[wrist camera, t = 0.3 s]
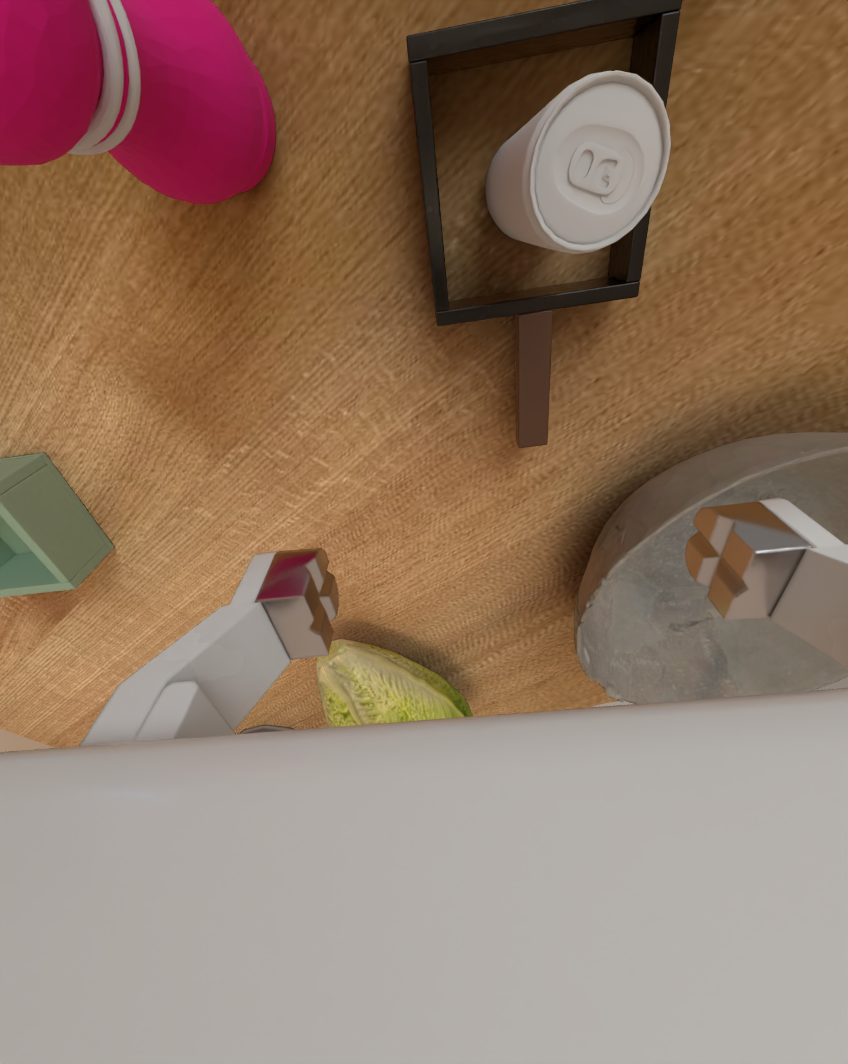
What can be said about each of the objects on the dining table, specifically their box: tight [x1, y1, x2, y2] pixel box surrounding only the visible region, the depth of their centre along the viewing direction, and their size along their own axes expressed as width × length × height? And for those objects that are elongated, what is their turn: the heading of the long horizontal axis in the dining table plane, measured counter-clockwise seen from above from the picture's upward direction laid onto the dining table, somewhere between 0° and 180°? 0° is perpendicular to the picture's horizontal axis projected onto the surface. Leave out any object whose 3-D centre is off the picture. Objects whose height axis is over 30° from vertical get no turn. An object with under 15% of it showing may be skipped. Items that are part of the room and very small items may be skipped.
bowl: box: [574, 432, 848, 704], centre depth 34 cm, size 28×28×10 cm
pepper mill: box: [0, 0, 276, 204], centre depth 14 cm, size 7×7×20 cm
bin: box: [0, 453, 114, 597], centre depth 34 cm, size 10×10×6 cm
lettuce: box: [316, 639, 473, 727], centre depth 46 cm, size 13×22×14 cm
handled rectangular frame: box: [406, 0, 682, 448], centre depth 25 cm, size 20×12×3 cm, turn 8°
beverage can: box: [485, 70, 671, 254], centre depth 19 cm, size 5×5×12 cm
